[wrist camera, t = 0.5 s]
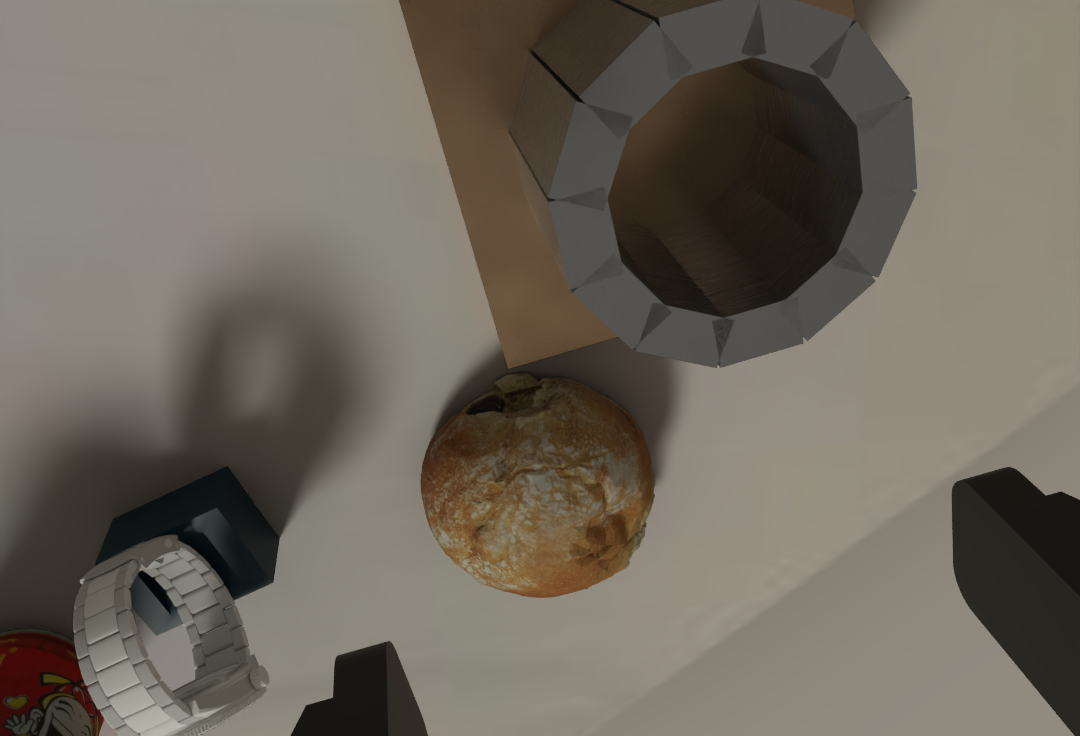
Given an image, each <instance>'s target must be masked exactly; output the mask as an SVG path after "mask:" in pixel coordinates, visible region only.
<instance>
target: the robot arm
mask: <svg viewBox="0 0 1080 736" xmlns="http://www.w3.org/2000/svg"><path fill="white" fill-rule="evenodd" d="M952 530H953V566H954V572H955V576H956V580H957V583H958V586H959V588H960V591H961V593H962V596H963V598H964V599H965V601H966V603H967V604H968V606H969V607H970V609H971V610H972V612H973V613H974V614H975V615H976V616H977V618H978V619H979V620H980V621H981V623H982V624H983V625H984V626H985V627H986V629H987V630H988V631H989V632H990V633H991V635H992V636H993V637H994V638H995V639H996V641H997V642H998V643H999V644H1000V646H1001V647H1002V648H1003V649H1004V650H1005V652H1006V653H1007V654H1008V655H1009V657H1010V658H1011V659H1012V660H1013V661H1014V663H1015V664H1016V665H1017V666H1018V667H1019V669H1020V670H1021V671H1022V672H1023V673H1024V675H1025V676H1026V677H1027V678H1028V680H1030V682H1031V683H1032V684H1033V686H1034V687H1035V688H1036V689H1037V690H1038V692H1039V693H1040V694H1041V695H1042V697H1043V698H1044V699H1045V700H1046V701H1047V703H1048V704H1049V705H1050V706H1051V707H1052V709H1053V710H1054V711H1055V712H1056V714H1057V715H1058V716H1059V717H1060V718H1061V720H1062V721H1063V722H1064V723H1065V724H1066V726H1067V727H1068V728H1069V729H1070V730H1071V732H1072V733H1073V734H1074V735H1075V736H1080V500H1079V499H1077V498H1074V497H1072V496H1070V495H1068V494H1065V493H1063V492H1058V493H1054V494H1051V495H1047V496H1045V495H1044V494H1043V493H1042V492H1041V491H1040V490H1039V489H1038V488H1037V487H1036V486H1034V485H1033V484H1032V483H1031V482H1030V481H1029V480H1028V479H1027V478H1026V477H1025V476H1023V475H1022V474H1021V473H1020V472H1019V471H1017V470H1016V469H1014V468H1011V467H1006V468H1002V469H999V470H995V471H992V472H988V473H985V474H981V475H978V476H974V477H970V478H967V479H963V480H960V481H957V482H956V483H955V484H954V486H953V489H952ZM291 736H428V734H427V731H426V727H425V723H424V720H423V717H422V715H421V712H420V710H419V707H418V705H417V702H416V700H415V697H414V695H413V692H412V690H411V687H410V685H409V682H408V680H407V677H406V675H405V672H404V670H403V667H402V665H401V662H400V660H399V657H398V655H397V652H396V650H395V648H394V646H393V644H392V643H391V642H390V641H387V642H384V643H380V644H377V645H373V646H370V647H366V648H363V649H359V650H356V651H352V652H349V653H345V654H342V655H338V656H337V657H336V660H335V667H334V690H333V698H331V699H327V700H324V701H320V702H317V703H313V704H310V705H306V707H305V709H304V711H303V713H302V715H301V717H300V718H299V720H298V722H297V724H296V726H295V728H294V730H293V732H292V734H291Z"/></svg>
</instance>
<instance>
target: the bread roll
mask: <svg viewBox="0 0 1080 736" xmlns="http://www.w3.org/2000/svg"><path fill="white" fill-rule="evenodd" d="M494 385H495V388H494V389H493V390H492V391H490V392H488V393H485V394H483V395H482V396H480V397H479V398H477V399H476V400H474V401H473V402H471V403H470V404H468V405H467V406H465V407H464V408H463V409H462V410H461V412H460V413H458V414H456V415H454V416H452V417H451V418H450V419H449V420H448V421H447V423H446V424H445V425H444V426H443V427H442V428H441V429H440V430H438V432H437V433H436V435H435V436H434V437H433V438H432V440H431V441H430V443H429V446H428V449H427V451H426V454H425V457H424V461H423V465H422V473H421V494H422V500H423V504H424V509H425V514H426V518H427V520H428V523H429V526H430V528H431V531H432V533H433V535H434V537H435V538H436V540H437V542H438V543H439V545H440V546H441V548H442V549H443V551H444V552H445V553H446V555H448V556H449V557H450V558H451V559H452V560H453V562H454V563H455V564H456V565H458V566H459V567H461V568H462V569H464V570H465V571H466V572H467V573H469V574H470V575H471V576H472V577H473V578H474V579H475V580H477V581H478V582H479V583H481V584H483V585H487V586H490V587H493V588H496V589H499V590H502V591H505V592H510V593H514V594H518V595H522V596H527V597H541V598H547V597H556V596H560V595H564V594H569V593H572V592H576V591H579V590H583V589H588V588H589V587H590V586H592V585H595V584H597V583H599V582H601V581H603V580H605V579H607V578H609V577H611V576H613V575H614V574H615V573H617V572H619V571H621V570H623V569H626V568H627V567H628V566H629V564H630V562H629V559H630V558H631V556H632V554H633V553H634V552H635V551H636V550H637V549H638V548H639V547H640V543H641V541H642V539H643V538H644V535H645V528H646V522H645V521H646V519H647V517H648V515H649V513H650V510H651V507H652V504H653V500H654V497H655V495H654V493H653V492H654V486H655V477H654V474H653V471H652V468H651V462H650V456H649V453H648V449H647V446H646V443H645V440H644V437H643V434H642V431H641V429H640V428H639V426H638V425H637V423H636V421H635V420H634V419H633V417H632V416H631V415H630V413H629V412H628V411H625V410H624V409H623V408H622V407H620V406H619V405H618V404H616V403H615V402H613V401H611V399H610V398H609V397H608V396H603V395H601V394H599V393H597V392H595V391H594V390H592V389H591V388H589V387H588V386H586V385H584V384H582V383H580V382H577V381H574V380H572V379H569V378H542V379H541V380H537V379H535V378H534V377H533V376H532V375H531V374H529V373H527V372H521V373H515V374H508V375H506V376H504V377H502V378H500V379H499V380H497V381H495V382H494Z"/></svg>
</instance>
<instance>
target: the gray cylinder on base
mask: <svg viewBox="0 0 1080 736" xmlns="http://www.w3.org/2000/svg"><path fill="white" fill-rule="evenodd" d="M399 2H400V5H401V9H402V12H403V15H404V19H405V22H406V26H407V29H408V32H409V36H410V39H411V42H412V46H413V49H414V53H415V56H416V59H417V63H418V66H419V69H420V73H421V76H422V80H423V83H424V86H425V90H426V93H427V96H428V100H429V103H430V107H431V110H432V113H433V117H434V120H435V123H436V127H437V130H438V134H439V137H440V140H441V144H442V147H443V150H444V154H445V157H446V161H447V164H448V167H449V171H450V174H451V178H452V181H453V184H454V188H455V191H456V194H457V198H458V201H459V205H460V208H461V211H462V215H463V218H464V221H465V225H466V228H467V232H468V235H469V238H470V242H471V245H472V248H473V252H474V255H475V259H476V262H477V265H478V269H479V272H480V275H481V279H482V282H483V286H484V289H485V292H486V296H487V299H488V302H489V306H490V309H491V313H492V316H493V319H494V323H495V326H496V330H497V333H498V336H499V340H500V343H501V346H502V350H503V353H504V357H505V360H506V363H507V367H508V369H510V368H513V367H517V366H520V365H523V364H527V363H530V362H534V361H537V360H540V359H544V358H547V357H551V356H554V355H557V354H561V353H564V352H568V351H571V350H575V349H578V348H581V347H585V346H588V345H592V344H595V343H598V342H602V341H605V340H609V339H612V338H615V337H619V338H620V339H621V340H622V341H623V342H624V343H625V344H626V345H628V346H629V347H630V348H631V349H633V348H634V349H635V351H636V352H640V353H645V354H650V355H655V356H660V357H665V358H670V359H675V360H680V361H685V362H690V363H694V364H699V365H704V366H709V367H714V368H717V365H719V366H720V368H721V367H725V366H728V365H731V364H735V363H738V362H742V361H745V360H748V359H752V358H755V357H759V356H762V355H765V354H769V353H772V352H776V351H779V350H782V349H786V348H789V347H793V346H796V345H799V344H803V337H804V338H805V339H806V340H807V341H808V340H809V339H810V338H812V337H813V336H814V335H815V334H816V333H817V332H818V331H820V330H821V329H822V328H823V327H824V326H825V325H826V324H827V323H829V322H830V321H831V320H832V319H833V318H834V317H835V316H837V315H838V314H839V313H840V312H841V311H842V310H843V309H845V308H846V307H847V306H848V305H849V304H850V303H851V302H853V301H854V300H855V299H856V298H857V297H858V296H859V295H860V294H862V293H863V292H864V291H865V290H866V289H867V288H868V287H870V286H871V285H872V284H873V283H874V282H875V280H874V278H873V277H872V276H875V277H879V275H880V273H881V271H882V268H883V266H884V264H885V262H886V259H887V257H888V255H889V253H890V251H891V248H892V246H893V244H894V242H895V239H896V237H897V235H898V233H899V230H900V228H901V226H902V224H903V221H904V219H905V217H906V215H907V213H908V210H909V208H910V206H911V204H912V201H913V199H914V197H915V195H916V193H915V192H914V191H912V190H913V189H917V178H916V162H915V145H914V129H913V112H912V98H911V97H908V95H909V94H910V93H909V91H908V90H907V88H906V87H905V86H904V84H903V83H902V82H901V80H900V79H899V78H898V76H897V75H896V74H895V72H894V71H893V69H892V68H891V67H890V65H889V64H888V63H887V61H886V60H885V59H884V57H883V56H882V54H881V53H880V52H879V50H878V49H877V48H876V46H875V45H874V44H873V42H872V41H871V40H870V38H869V37H868V35H867V34H866V33H865V31H864V30H863V29H862V27H861V26H860V25H859V23H858V22H857V21H855V13H854V1H853V0H399Z"/></svg>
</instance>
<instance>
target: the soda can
mask: <svg viewBox="0 0 1080 736" xmlns="http://www.w3.org/2000/svg"><path fill="white" fill-rule="evenodd" d="M87 657H88V656H87ZM85 658H86V657H85ZM79 660H81V659H78V657H77V653H76V647H75V642H73V641H72V640H70V639H68V638H66V637H64V636H62V635H59V634H56V633H52V632H49V631H45V630H33V629H23V630H15V631H8V632H4V633H1V634H0V736H99V732H100V729H101V726H102V724H103V721H104V717H103V715H102V714H101V712H100V710H101V709H100V710H99V709H98V708H97V707H96V705H95V703H94V701H93V699H92V697H91V695H90V693H89V691H88V686H90V685H92V684H94V683H92V684H90V685H88V686H87V685H86V684H85V682H84V679H83V677H82V674H81V670H80V667H79ZM97 682H98V681H97ZM95 683H96V682H95Z"/></svg>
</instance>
